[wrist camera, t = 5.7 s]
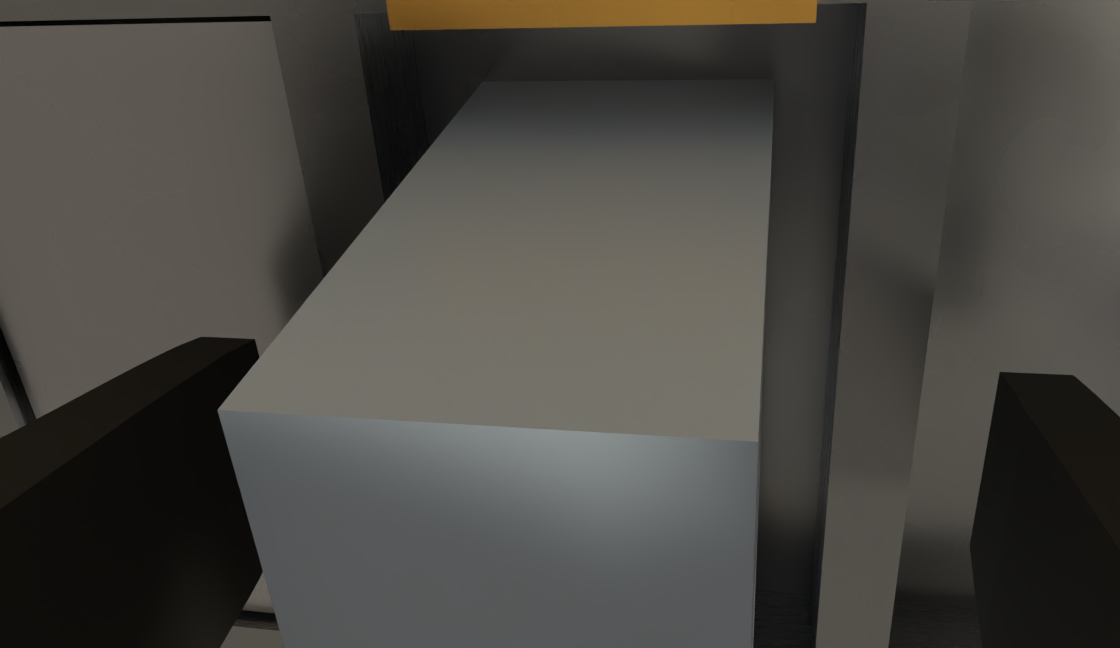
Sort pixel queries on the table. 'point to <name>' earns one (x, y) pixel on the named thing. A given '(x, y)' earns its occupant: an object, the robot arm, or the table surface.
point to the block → (529, 385)
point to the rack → (597, 55)
